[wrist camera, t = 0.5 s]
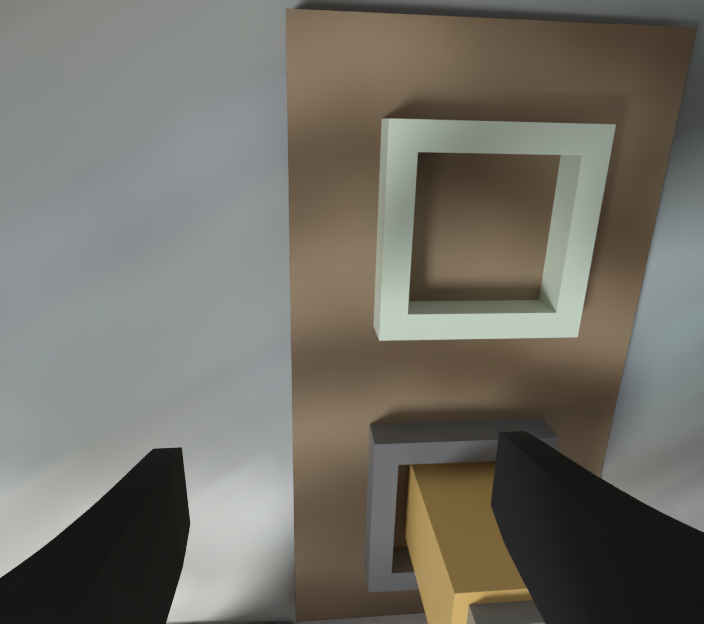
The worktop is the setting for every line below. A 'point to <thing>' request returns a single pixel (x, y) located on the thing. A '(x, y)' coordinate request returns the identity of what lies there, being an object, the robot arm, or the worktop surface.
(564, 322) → the pale green square frame
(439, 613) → the plug
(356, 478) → the switch board
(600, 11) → the worktop surface
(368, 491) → the grey square frame
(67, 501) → the worktop surface
